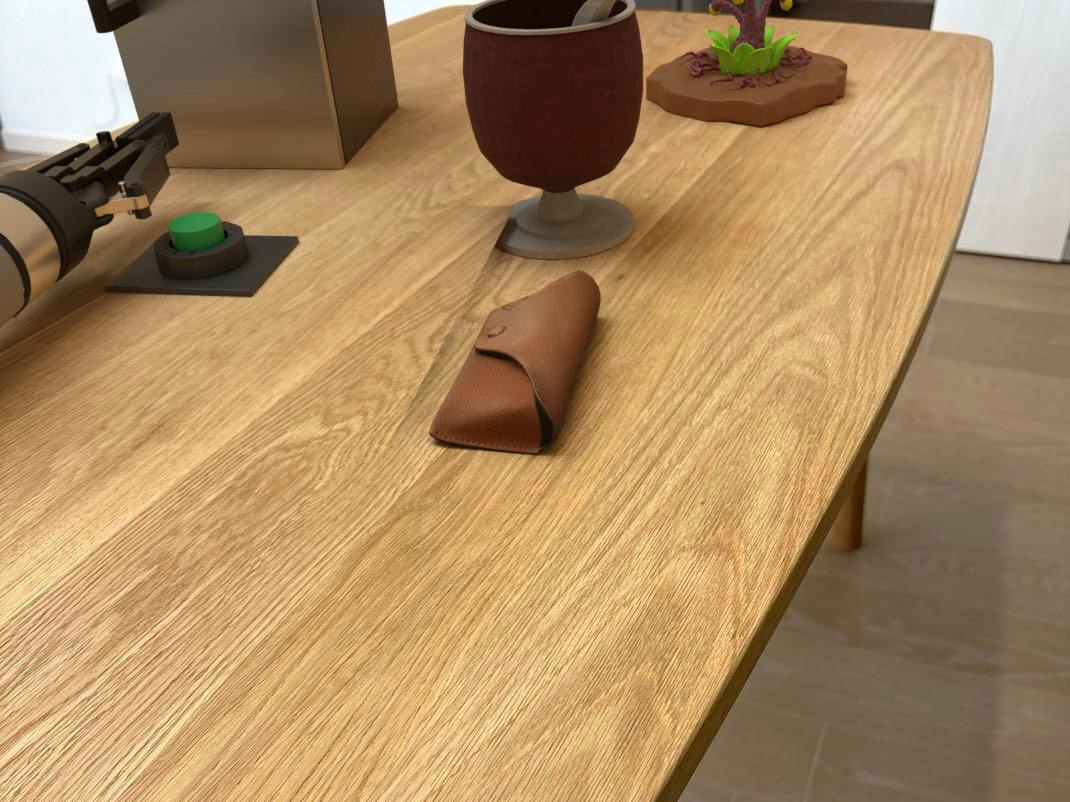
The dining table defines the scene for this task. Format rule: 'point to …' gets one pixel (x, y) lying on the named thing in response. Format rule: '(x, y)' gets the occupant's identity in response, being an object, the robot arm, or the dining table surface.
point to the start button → (196, 231)
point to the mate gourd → (555, 114)
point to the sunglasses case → (521, 370)
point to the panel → (205, 266)
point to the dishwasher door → (230, 79)
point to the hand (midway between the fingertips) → (165, 128)
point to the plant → (747, 74)
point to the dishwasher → (358, 68)
